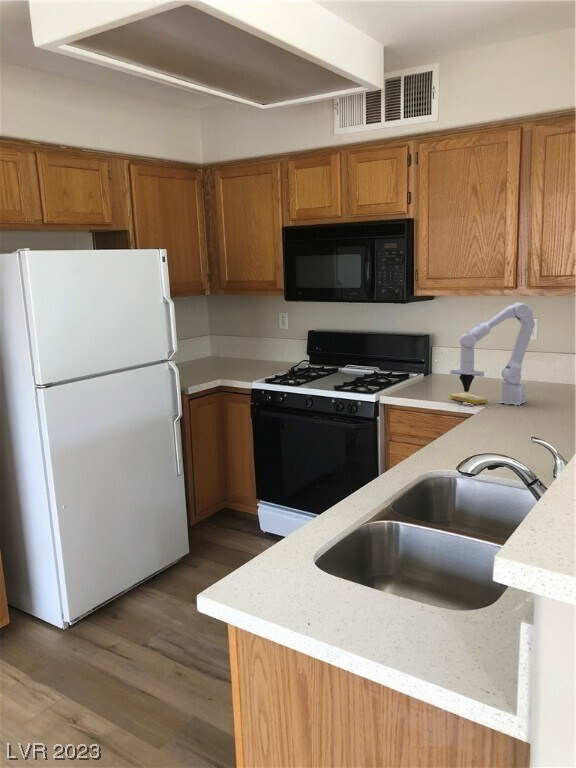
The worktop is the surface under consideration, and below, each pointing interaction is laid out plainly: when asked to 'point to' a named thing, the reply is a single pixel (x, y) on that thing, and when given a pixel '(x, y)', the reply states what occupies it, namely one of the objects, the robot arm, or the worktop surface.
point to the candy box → (469, 398)
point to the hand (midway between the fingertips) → (466, 391)
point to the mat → (467, 404)
